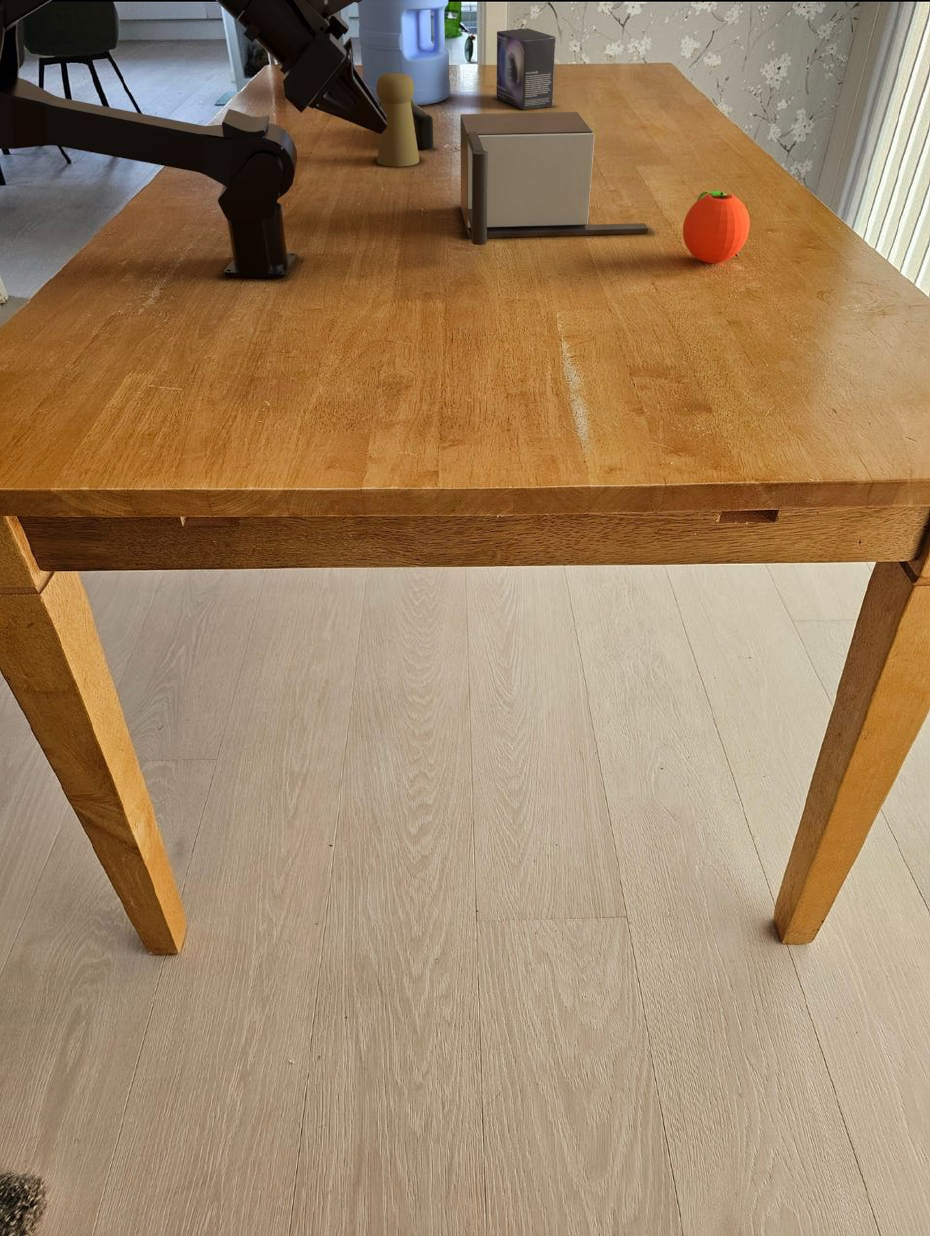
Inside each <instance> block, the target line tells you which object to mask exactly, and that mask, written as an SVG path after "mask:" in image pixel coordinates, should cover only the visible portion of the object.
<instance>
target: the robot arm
mask: <svg viewBox="0 0 930 1236" xmlns="http://www.w3.org/2000/svg"><path fill="white" fill-rule="evenodd" d="M51 1H52V0H0V150H18V149H26V148H27V149H29V148H35V147H37V148H38V147H45V146H54V147H55V146H56V147H59V148H65V149H66V148H67V149H71V150H77V151H81V152H87V153H93V154H98V155H103V156H108V157H115V158H120V159H125V160H129V161H137V162H141V163H147V164H152V165H156V166H157V165H158V166H163V167H168V168H174V169H179V170H183V171H184V170H185V171H189V172H194V173H199V174H202V175H204V176H206V177H208V178H210V179H211V180H212V181H215V182H217V183H219V184H220V185H222V187H221V190H220V193H219V196H218V197H217V204H218V205H219V207H220V209H221V212H222V213H223V215H224V217H225V219H226V222H227V229H228V234H229V235H228V236H229V241H230V247H231V253H232V260H231V262H230V263H229V264H228V265H227V266H226V268H225V269H223V274H224V276H225V277H240V278H241V277H242V278H243V277H244V278H271V279H272V278H273V279H274V278H275V279H282V278H285V277H286V276H287V274H288V273H289V272H290V270H291V269H292V267H293V266H294V264H295V263H296V262H297V260H298V253H295V252H288V250H287V241H286V233H285V225H284V217H283V209H282V204H281V203H280V202H278V200H279V199H280V198H282V197H283V196H284V195H286V194H287V193H288V192H289V191H290V189H291V187H292V186H293V183H294V179H295V177H296V176H295V175H296V171H297V170H296V169H297V165H298V150H297V147H296V144H295V141H294V140H293V139H292V137H291V136H290V134H289V133H288V132H287V130H286V129H284V128H283V127H282V126H280V125H277V124H275V123H271V122H269V121H270V118H271V117H270V115H268V114H267V115H263V116H253V115H248V114H246V113H243V112H240V111H238V110H236V109H231V108H228V109H227V111H226V113H225V114H224V115H225V116H224V117H223V119H222V121H221V124H214V125H203V124H202V125H201V124H197V123H191V122H187V121H181V120H176V119H171V118H166V117H161V116H157V115H152V114H151V115H150V114H145V113H140V112H135V111H130V110H126V109H120V108H115V107H111V106H105V105H100V104H94V103H89V102H84V101H80V100H74V99H70V98H65V97H64V98H63V97H60V96H57V95H55V94H53V93H51V92H49V91H48V90H46V89H43V88H42V87H40V86H38V85H37V84H35V83H33V82H31V81H30V80H27V79H24V78H22V77H19V75H20V52H19V43H18V42H19V38H18V28H19V27H18V26H19V24H18V23H19V22H20V20H21V19H24V18H25V17H27V16H28V15H30V14H32V13H34V12H35V11H37V10H38V9H40V8H42V7H43V6H45V5H46V4H48V3H49V2H51ZM215 1H216V2H217V3H218V5H220V6H221V7H222V8H223V9H224V10H225V11H226V12H227V13H228V14H229V15H230V16H231V18H233V19H234V20H235V21H236V22H237V23H238V25H240V26H241V28H243V29H244V30H245V31H244V32H243V35H244V36H245V37H246V38H247V39H248V40H249V41H250V42H251V43H252V44H253V43H254V41H256V42H257V43H258V44H259V45H260V46H261V48H263V49H264V50H265V51H266V53H268V54H269V55H270V56H271V57H272V58H273V59H274V60H275V61H276V62H277V63H278V64H279V65H280V68H279V71H280V72H281V73H282V74H283V75H284V77H283V79H282V83H283V93H284V98H285V99H286V100H287V101H288V102H289V103H290V104H291V105H292V106H293V107H294V108H295V109H296V110H297V111H298V112H299V113H300V114H302V113H303V112H304V111H305V110H306V108H307V107H308V108H310V109H312V110H313V109H315V110H318V111H320V112H323V113H326V114H328V115H330V116H334V117H336V118H339V119H341V120H344V121H347V122H349V123H351V124H354V125H357V126H359V127H361V128H363V129H366V130H369V131H371V132H373V133H375V134H378V135H379V134H382V133H383V132H384V130H385V129H386V128H387V123H386V122H385V121H386V119H387V117H386V115H385V113H384V111H383V110H382V108H381V104H378V102H377V100H376V99H375V97H374V96H373V94H372V93H371V91H370V89H369V88H368V86H367V85H366V83H365V82H364V80H363V76H362V75H361V73H360V71H359V70H358V68H357V67H356V66H355V65H356V64H355V62H354V46H353V45H354V44H353V38H352V36H350V37H349V38H348V39H347V40H346V42H345V43H344V44H343V45H342V43H341V42H340V41H339V40H340V38H341V37H342V36H343V35H346V34H347V33H348V31H349V30H350V25H349V24H348V23H347V22H346V21H345V20H344V19H343V18H342V17H341V15H339V14H338V13H339V12H341V11H342V10H343V9H346V8H347V7H349V6H350V5H352V4H353V3H356V4H358V3H359V2H361V1H362V0H215Z"/></svg>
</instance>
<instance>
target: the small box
mask: <svg viewBox="0 0 930 1236" xmlns="http://www.w3.org/2000/svg"><path fill="white" fill-rule="evenodd" d="M556 40H557V37H556V36H554V35H551V34H548V33H544V32H541V31H537V30H535V29H532V28H528V27H526V28H516V29H508V30H506V29H505V30H499V31H498V30H497V31H496V95H495V96H496V99H497V100H501V101H502V102H505V103H508V104H509V105H511V106H514V107H517V108H518V109H520V110H532V109H540V108H541V109H542V108H550V107H553V106H554V81H555V79H554V78H555V56H556V55H555V53H556V42H557V41H556Z"/></svg>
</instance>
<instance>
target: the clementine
mask: <svg viewBox="0 0 930 1236" xmlns="http://www.w3.org/2000/svg"><path fill="white" fill-rule="evenodd" d="M686 213H687V214H686V215H685V218H684V221H683V225H682V238H683V240H684V244H685V247H686V249H687V250H688V252H689V253H690V254H691V255H692V256H693V257H695V259H697V260H700V261H702V262H704V263H709V264H716V263H723V262H725V261H727V260H729V259H731V258H733V257H734V256H735V255H736V254H737V253H738V252H739V251H741V250H742V248H743V247H744V245H745V244H746V242H747V239H748V236H749V233H750V223H751V222H750V221H751V220H750V216H749V212H748V210H747V208H746V207H745V205H744V203H743V202H742V201H741V200H740V199H739V198H737V197H736V196H735V195H733V194H730V193H726V192H723V191H721V190H709V191H703V192H701V193H700V194H699V195H698V197H697V199H696V202H694V203H693V205H692V206H691V207H690V208H689V210H688V211H687V212H686Z"/></svg>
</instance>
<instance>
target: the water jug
mask: <svg viewBox="0 0 930 1236" xmlns="http://www.w3.org/2000/svg"><path fill="white" fill-rule="evenodd" d="M448 5H449V0H362V1H361V2H359V3H357V12H358V13H357V14H358V40H359V45H360V57H361V58H360V59H361V74H362V75H361V77H362V78H363V80H364V82H365V83H366V85H367V86H368V88H369V89H370V91H371V93H372V94H373V96H374V97H375V99H376V100H377V102H378V104H379V105H381V101H380V99H379V98H378V95H377V92H376V84H377V81H378V79H379V77H380V76H381V75H384V74H388V73H402V74H406V75H408V76H410V77H411V79H412V80H413V84H414V93H413V97H412V100H413V101H414V102H415V103H416V104H417V106H419V107H421V106H428V105H433V104H437V103H440V102H443V101H444V100H447V99H448V97H449V96H450V94H451V81H450V52H449V50H448V49H447V48H446V33H445V29H446V28H445V9H446V7H447V6H448ZM431 11H432V13H433V42H434V44H433V42H432V26H431V25H432V22H431V19H432V18H431Z"/></svg>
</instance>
